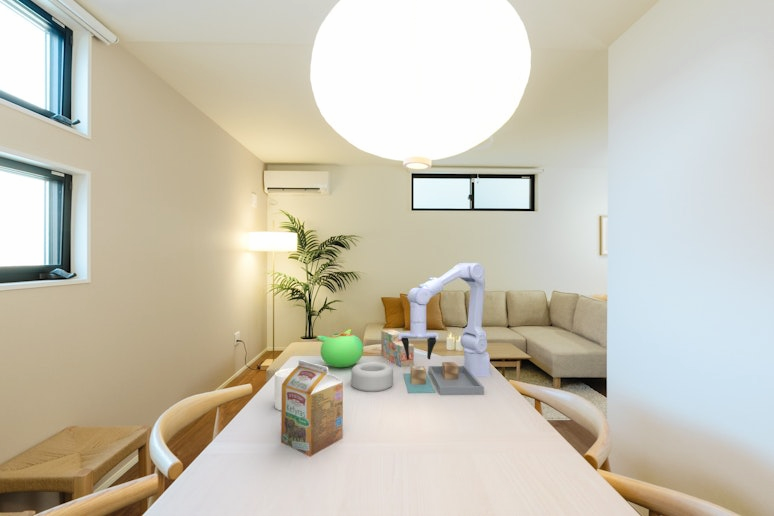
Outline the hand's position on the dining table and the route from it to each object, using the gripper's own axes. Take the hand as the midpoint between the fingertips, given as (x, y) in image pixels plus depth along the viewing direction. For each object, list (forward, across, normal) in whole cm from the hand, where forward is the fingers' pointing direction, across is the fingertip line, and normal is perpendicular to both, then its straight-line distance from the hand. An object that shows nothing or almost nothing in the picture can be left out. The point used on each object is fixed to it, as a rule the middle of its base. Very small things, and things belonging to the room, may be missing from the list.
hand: (418, 358), depth 128 cm
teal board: (+9, 0, 0) cm, 9 cm away
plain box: (+9, +13, +6) cm, 17 cm away
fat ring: (+10, -17, 0) cm, 19 cm away
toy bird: (+9, -30, +23) cm, 39 cm away
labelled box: (+8, 0, 0) cm, 8 cm away
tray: (+9, +13, 0) cm, 16 cm away
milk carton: (+9, -32, -39) cm, 51 cm away
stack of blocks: (+10, -6, +30) cm, 32 cm away
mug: (+9, -41, -19) cm, 46 cm away
